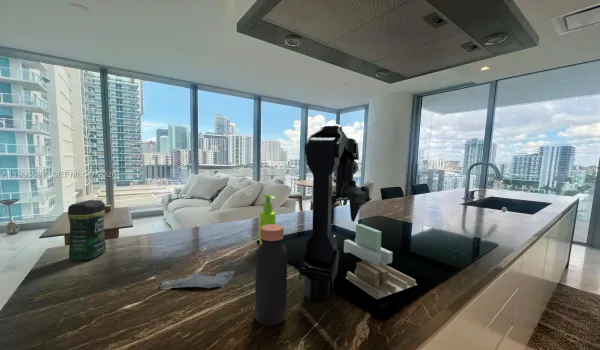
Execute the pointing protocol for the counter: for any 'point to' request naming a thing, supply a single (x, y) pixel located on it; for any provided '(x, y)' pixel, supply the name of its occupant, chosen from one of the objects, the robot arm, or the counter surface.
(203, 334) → the counter surface
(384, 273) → the middle offcut
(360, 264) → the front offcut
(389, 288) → the birch rack
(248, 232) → the counter surface
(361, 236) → the green sheet
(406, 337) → the counter surface
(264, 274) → the bottle
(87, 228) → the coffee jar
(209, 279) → the stone slab
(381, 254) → the grey slotted stand
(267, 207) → the soap dispenser
